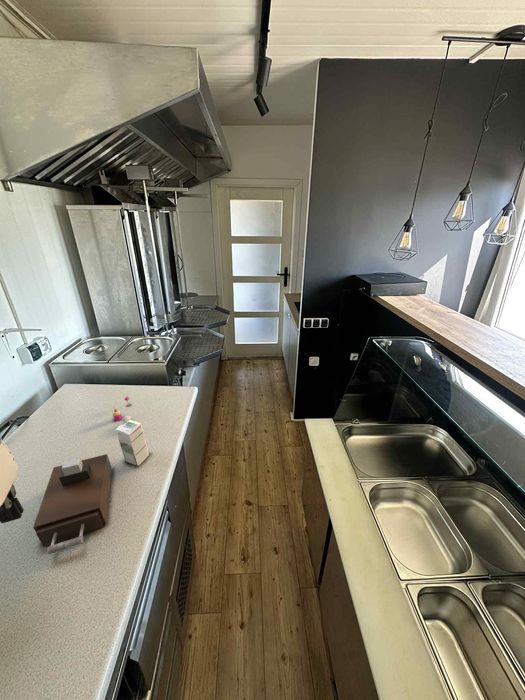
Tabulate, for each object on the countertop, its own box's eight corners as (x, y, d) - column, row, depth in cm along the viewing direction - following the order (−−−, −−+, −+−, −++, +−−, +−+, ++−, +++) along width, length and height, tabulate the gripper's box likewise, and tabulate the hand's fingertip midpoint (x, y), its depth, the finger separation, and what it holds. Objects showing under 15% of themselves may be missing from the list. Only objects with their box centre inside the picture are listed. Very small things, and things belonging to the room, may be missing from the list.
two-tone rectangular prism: (62, 485, 81) (55, 470, 78) (64, 477, 83) (58, 462, 80) (90, 477, 83) (84, 462, 80) (91, 469, 85) (86, 455, 83)
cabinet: (106, 524, 78) (99, 507, 74) (42, 544, 73) (32, 527, 70) (112, 469, 94) (107, 453, 91) (61, 483, 89) (53, 467, 86)
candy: (141, 425, 113) (138, 413, 111) (119, 434, 109) (116, 421, 106) (130, 403, 126) (127, 392, 124) (110, 410, 122) (107, 398, 120)
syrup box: (150, 454, 100) (142, 422, 93) (137, 467, 95) (128, 433, 89) (137, 450, 102) (128, 417, 95) (124, 462, 97) (114, 429, 90)
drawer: (100, 545, 72) (94, 532, 69) (37, 567, 68) (28, 554, 65) (109, 473, 92) (104, 461, 89) (60, 486, 87) (55, 474, 85)
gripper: (-35, 424, 53) (5, 491, 61) (-90, 490, 40) (-31, 564, 48) (14, 414, 55) (46, 480, 63) (-24, 474, 42) (22, 547, 51)
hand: (13, 516), depth 56 cm, fingers closed
